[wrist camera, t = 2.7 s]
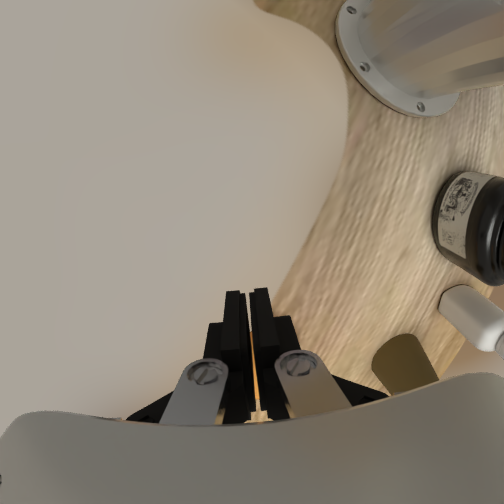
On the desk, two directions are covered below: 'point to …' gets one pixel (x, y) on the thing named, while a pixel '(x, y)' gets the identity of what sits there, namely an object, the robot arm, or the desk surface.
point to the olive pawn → (403, 364)
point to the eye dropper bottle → (474, 317)
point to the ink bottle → (472, 225)
